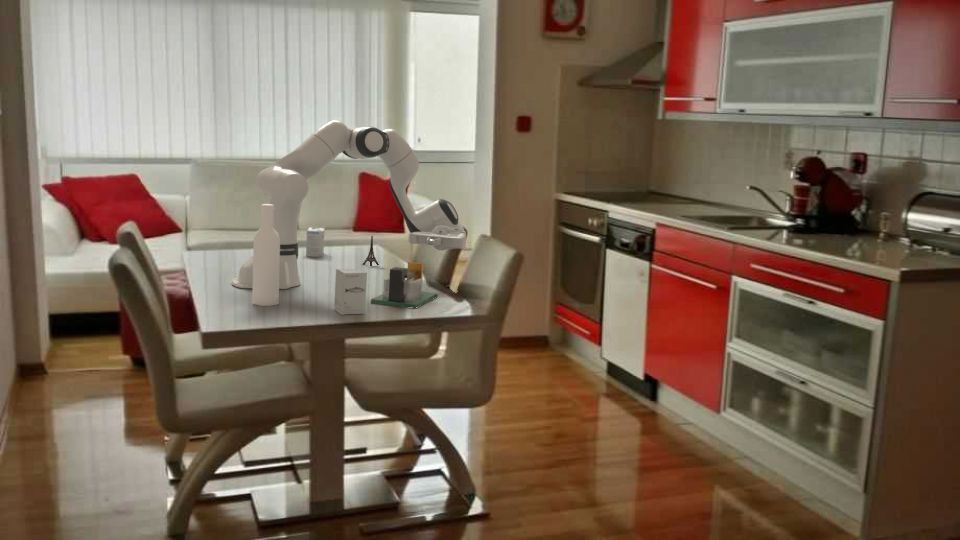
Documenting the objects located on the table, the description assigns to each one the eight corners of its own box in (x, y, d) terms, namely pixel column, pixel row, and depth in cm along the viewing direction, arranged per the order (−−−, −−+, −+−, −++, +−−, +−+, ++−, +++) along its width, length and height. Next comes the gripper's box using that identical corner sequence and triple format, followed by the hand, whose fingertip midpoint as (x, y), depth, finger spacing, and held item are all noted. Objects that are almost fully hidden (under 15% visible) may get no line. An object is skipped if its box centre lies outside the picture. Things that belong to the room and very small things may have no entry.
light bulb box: (307, 252, 363) (308, 226, 361) (324, 253, 363) (324, 227, 362) (305, 256, 352) (306, 230, 350) (322, 257, 353) (323, 230, 351)
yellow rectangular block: (407, 285, 287) (408, 261, 286) (421, 287, 286) (423, 263, 284) (395, 291, 276) (396, 266, 275) (410, 292, 275) (411, 268, 274)
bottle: (254, 306, 255) (256, 205, 250) (249, 301, 262) (251, 202, 257) (281, 305, 258) (283, 206, 253) (276, 300, 265) (278, 203, 260)
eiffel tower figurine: (384, 270, 333) (386, 236, 331) (358, 269, 332) (360, 235, 330) (384, 264, 348) (386, 231, 346) (359, 263, 347) (360, 230, 345)
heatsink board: (395, 291, 290) (396, 259, 289) (437, 296, 286) (439, 263, 285) (370, 302, 270) (372, 267, 269) (415, 308, 267) (417, 272, 265)
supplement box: (341, 315, 251) (343, 272, 249) (333, 310, 257) (335, 268, 255) (365, 314, 254) (367, 272, 252) (357, 309, 261) (359, 268, 259)
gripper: (416, 226, 312) (402, 230, 299) (470, 231, 307) (458, 235, 293) (415, 243, 313) (401, 248, 300) (469, 248, 308) (457, 254, 294)
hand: (430, 242), depth 297 cm, fingers closed
